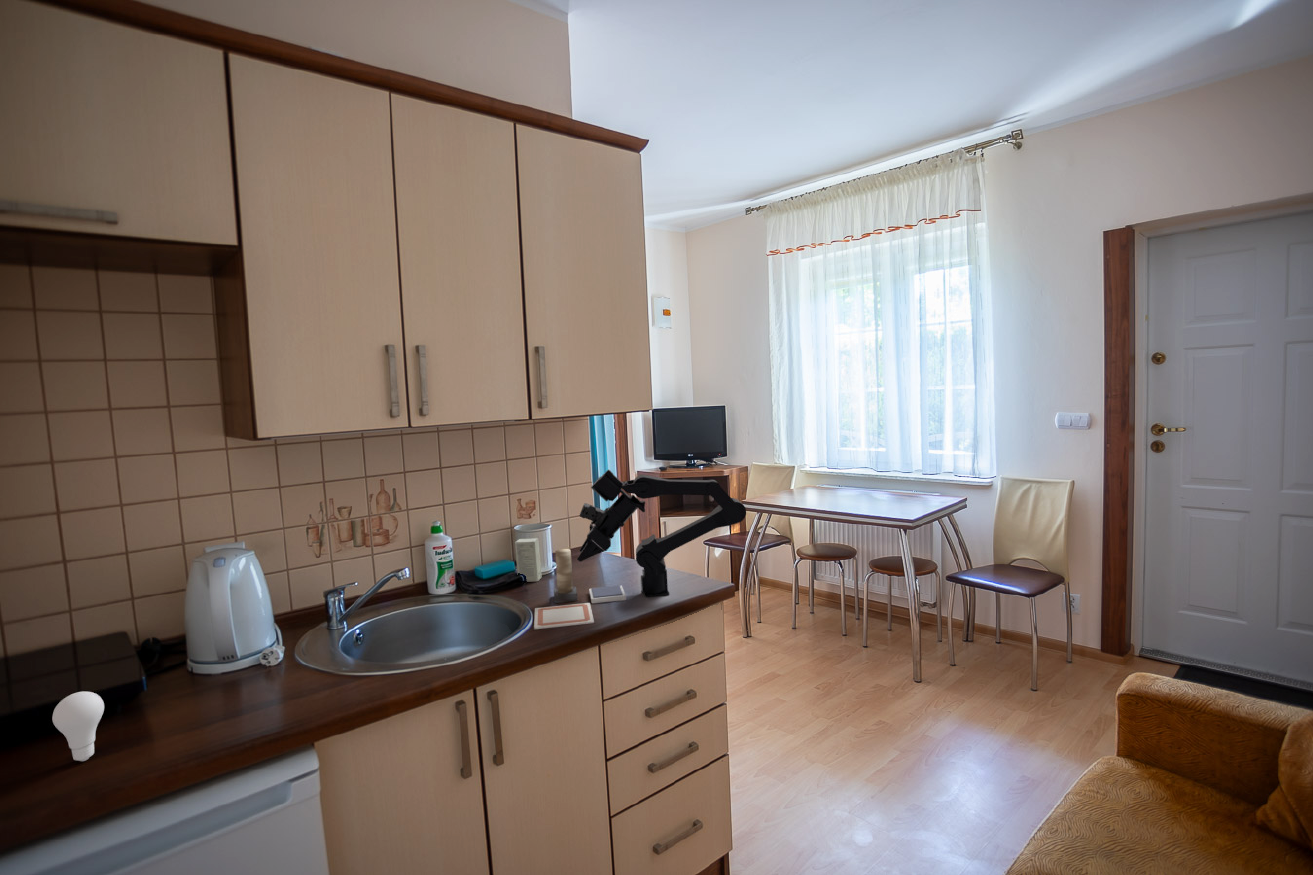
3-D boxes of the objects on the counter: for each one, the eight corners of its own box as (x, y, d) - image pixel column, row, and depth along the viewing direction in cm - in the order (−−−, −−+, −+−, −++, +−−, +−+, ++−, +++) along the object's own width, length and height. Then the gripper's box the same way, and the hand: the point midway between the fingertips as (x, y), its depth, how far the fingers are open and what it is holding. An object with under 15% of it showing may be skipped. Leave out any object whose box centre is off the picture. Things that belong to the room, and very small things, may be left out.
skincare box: (542, 577, 193) (539, 537, 192) (537, 581, 189) (535, 541, 188) (521, 577, 194) (519, 538, 193) (517, 582, 190) (514, 541, 189)
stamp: (576, 593, 176) (573, 547, 175) (577, 600, 170) (574, 552, 169) (554, 596, 175) (551, 549, 174) (554, 603, 169) (551, 554, 168)
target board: (589, 604, 167) (589, 602, 167) (594, 622, 153) (593, 620, 153) (535, 609, 164) (534, 607, 164) (534, 629, 151) (534, 627, 150)
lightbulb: (49, 767, 101) (41, 699, 100) (95, 746, 106) (87, 682, 106) (73, 774, 98) (64, 705, 98) (118, 752, 104) (111, 687, 103)
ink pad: (621, 589, 178) (621, 584, 177) (626, 599, 169) (625, 594, 169) (589, 592, 176) (589, 587, 176) (591, 603, 167) (591, 597, 167)
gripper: (597, 487, 180) (560, 528, 180) (595, 498, 162) (553, 544, 162) (627, 514, 181) (590, 554, 181) (627, 527, 163) (586, 573, 163)
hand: (579, 555), depth 172 cm, fingers open, 9 cm apart
